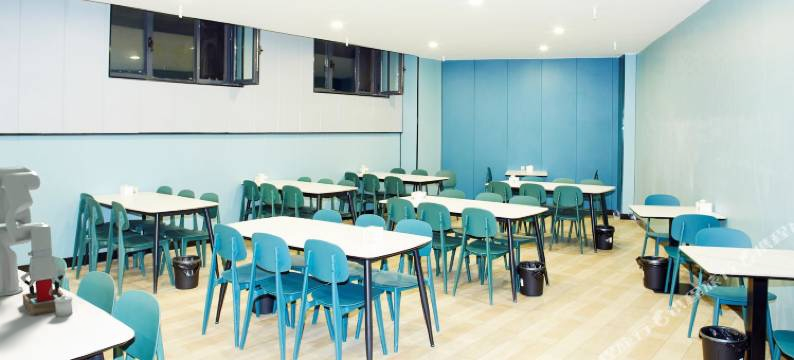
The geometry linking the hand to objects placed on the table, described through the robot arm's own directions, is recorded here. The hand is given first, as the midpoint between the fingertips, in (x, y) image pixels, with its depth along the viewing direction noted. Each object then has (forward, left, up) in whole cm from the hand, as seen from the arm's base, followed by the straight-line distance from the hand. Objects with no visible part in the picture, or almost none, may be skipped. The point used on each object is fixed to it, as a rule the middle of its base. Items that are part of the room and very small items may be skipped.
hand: (44, 292), depth 258 cm
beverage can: (0, 0, -6) cm, 6 cm away
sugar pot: (+14, +11, -6) cm, 19 cm away
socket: (0, 0, -6) cm, 6 cm away
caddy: (0, 0, -6) cm, 6 cm away
